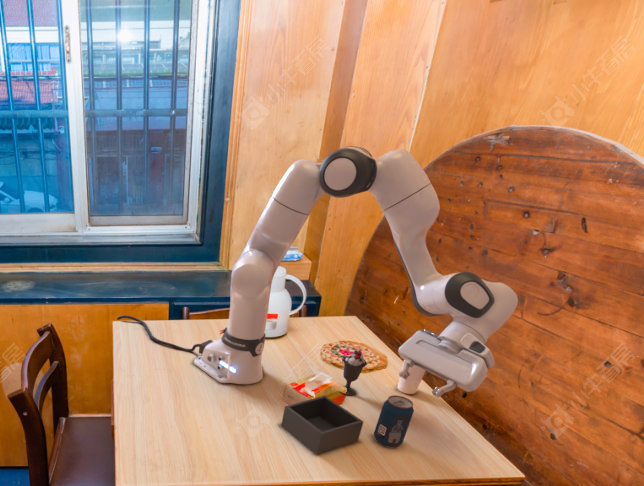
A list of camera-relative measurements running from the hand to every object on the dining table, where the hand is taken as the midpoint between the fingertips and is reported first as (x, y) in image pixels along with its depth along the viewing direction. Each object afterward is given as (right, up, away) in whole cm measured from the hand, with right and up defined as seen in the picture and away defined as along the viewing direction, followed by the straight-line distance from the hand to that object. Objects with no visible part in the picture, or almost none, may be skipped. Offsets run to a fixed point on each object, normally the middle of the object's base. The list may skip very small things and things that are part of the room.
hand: (417, 385), depth 125 cm
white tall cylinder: (+13, -1, +29) cm, 32 cm away
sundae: (-6, -2, +28) cm, 28 cm away
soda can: (-4, -14, +6) cm, 16 cm away
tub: (-21, -12, +9) cm, 26 cm away
